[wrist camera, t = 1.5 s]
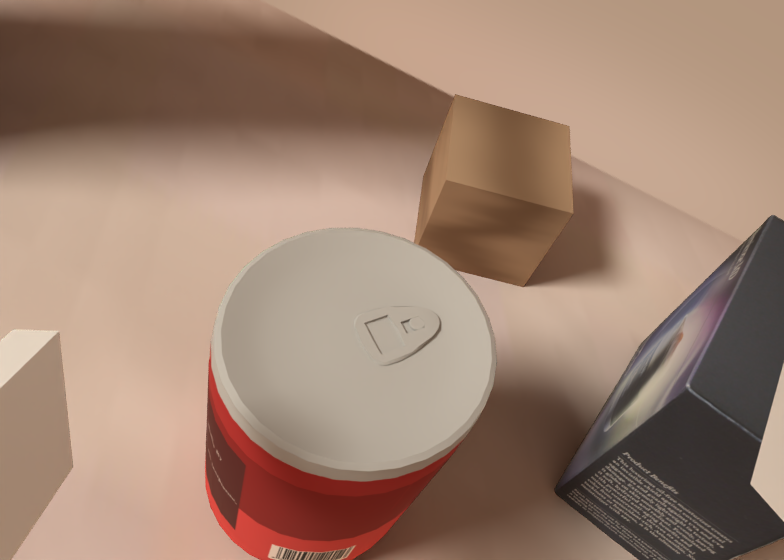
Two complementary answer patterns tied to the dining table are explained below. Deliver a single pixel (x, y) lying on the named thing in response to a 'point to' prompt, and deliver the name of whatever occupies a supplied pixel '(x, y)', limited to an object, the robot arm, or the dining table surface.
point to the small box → (692, 420)
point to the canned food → (338, 390)
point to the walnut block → (495, 191)
